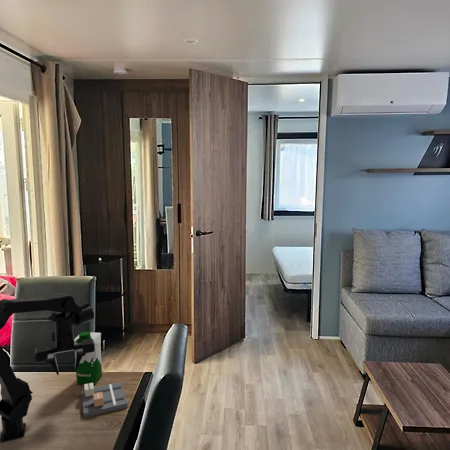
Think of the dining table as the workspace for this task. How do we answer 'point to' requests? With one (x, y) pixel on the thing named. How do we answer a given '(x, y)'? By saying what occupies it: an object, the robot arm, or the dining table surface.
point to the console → (105, 399)
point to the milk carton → (89, 360)
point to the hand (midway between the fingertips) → (67, 373)
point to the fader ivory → (89, 389)
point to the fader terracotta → (98, 399)
